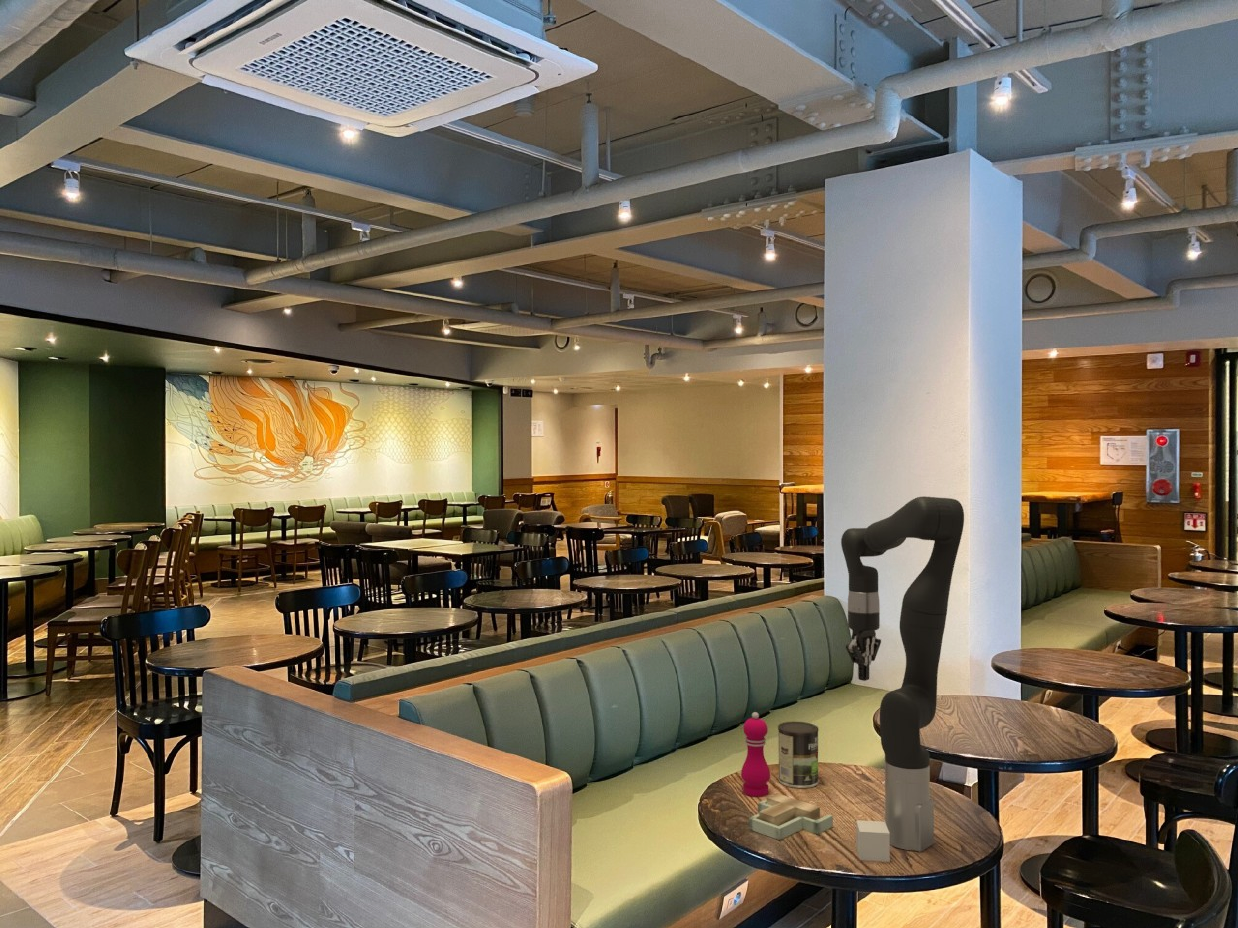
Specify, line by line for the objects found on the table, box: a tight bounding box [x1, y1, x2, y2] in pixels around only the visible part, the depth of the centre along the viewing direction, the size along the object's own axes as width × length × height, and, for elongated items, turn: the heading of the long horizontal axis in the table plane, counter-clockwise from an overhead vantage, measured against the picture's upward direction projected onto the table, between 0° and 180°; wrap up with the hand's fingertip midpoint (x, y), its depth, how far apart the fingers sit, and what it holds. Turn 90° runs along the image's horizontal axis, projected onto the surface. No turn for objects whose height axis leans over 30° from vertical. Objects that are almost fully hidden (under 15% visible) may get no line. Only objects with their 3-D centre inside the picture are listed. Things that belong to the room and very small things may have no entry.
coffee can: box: [777, 721, 819, 789], centre depth 229 cm, size 10×10×14 cm
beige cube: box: [855, 819, 891, 863], centre depth 186 cm, size 6×6×6 cm
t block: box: [759, 792, 821, 826], centre depth 202 cm, size 12×12×4 cm
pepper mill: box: [740, 711, 771, 797], centre depth 222 cm, size 7×7×20 cm
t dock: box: [748, 798, 834, 841], centre depth 201 cm, size 16×15×2 cm
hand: (863, 679), depth 218 cm, fingers closed
